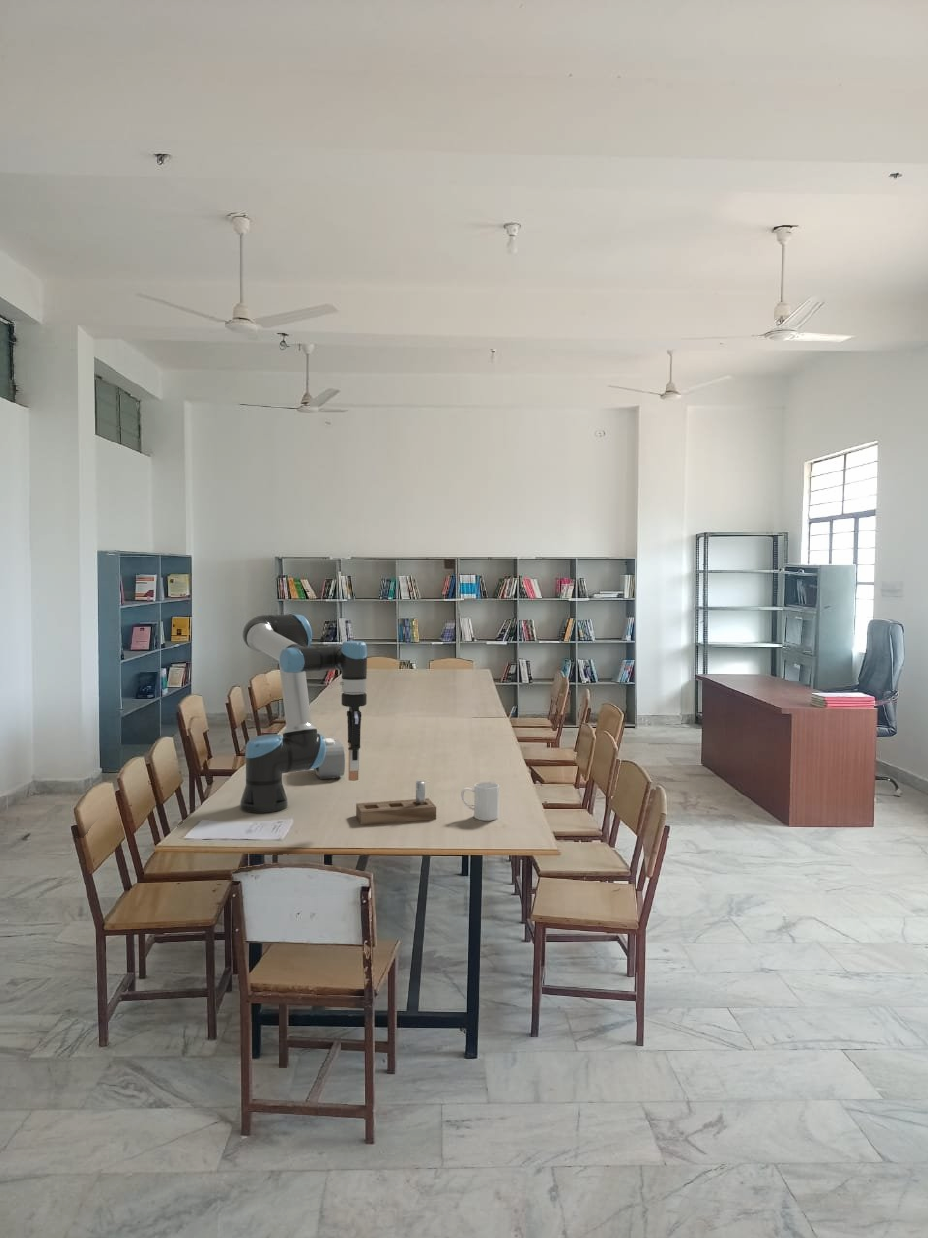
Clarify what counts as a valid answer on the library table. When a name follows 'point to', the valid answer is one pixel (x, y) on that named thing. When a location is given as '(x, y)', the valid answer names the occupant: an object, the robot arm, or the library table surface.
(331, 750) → the alarm clock
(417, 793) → the grey peg
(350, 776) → the orange rounded rod
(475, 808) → the mug
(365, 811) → the hole block
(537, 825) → the library table surface
